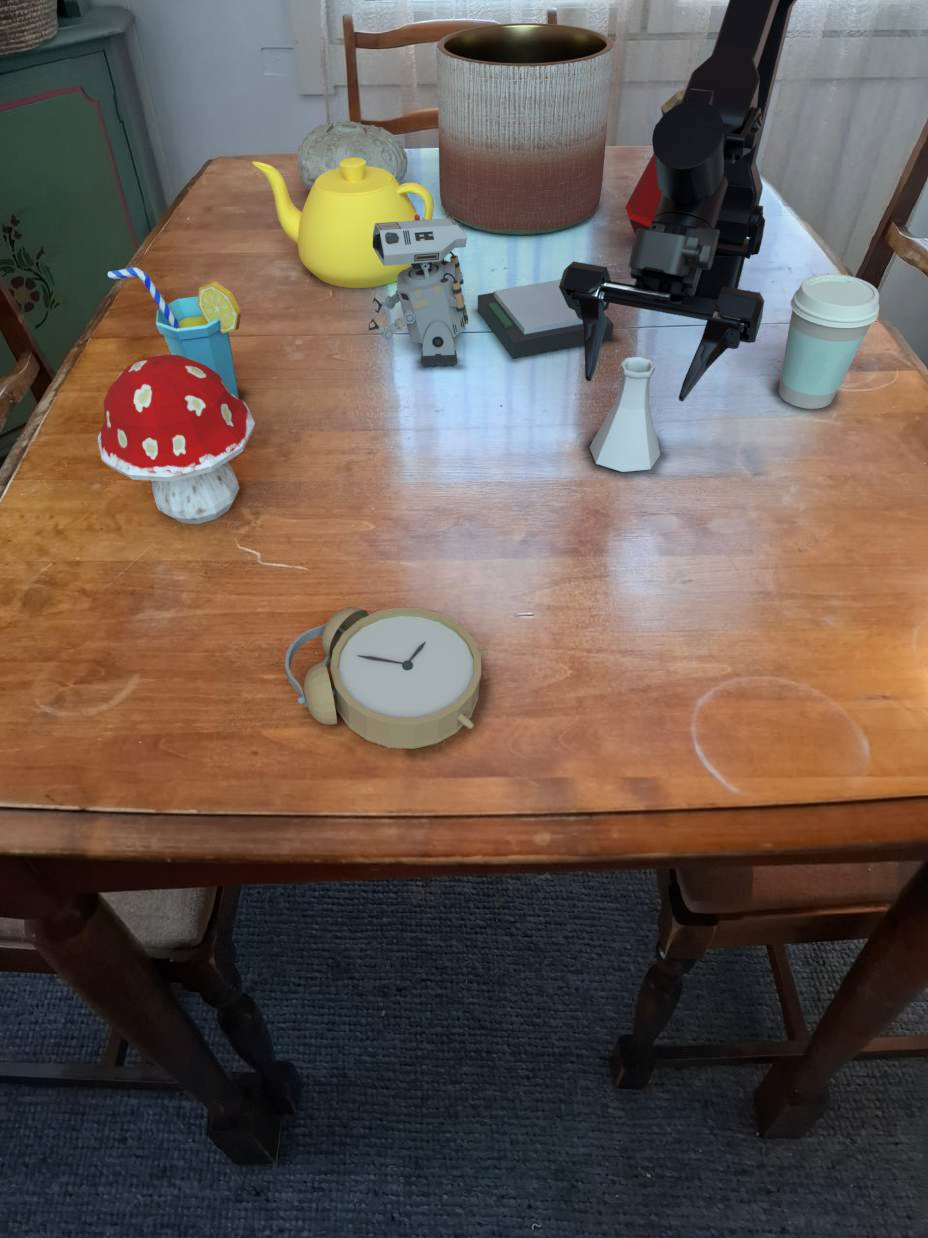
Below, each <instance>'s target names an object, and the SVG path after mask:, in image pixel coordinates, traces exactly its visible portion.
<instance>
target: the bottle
mask: <svg viewBox="0 0 928 1238" xmlns="http://www.w3.org/2000/svg"><path fill="white" fill-rule="evenodd" d="M685 90H686V88H684V89H681V90H679V91H677V92H676V93H675V94H673V95H672V96H671V97H670V98H669V99H668V100H666V102H665V103H663V104H662V105H661V106H660V109H661V114H662V116H663V115H664V114H665V113H666V112H667V111H668V110H670V109H671V108H673V106H674V105H675V103H676V102H677V101H678V100H682V98H683V95H684V93H685ZM661 194H662V191H660V190H659V187H658V181H657V173H656V166H655V159H654V152H653V153H652V155H651V157H650V159H649V160H648V163H647V165H646V167H645V168H644V170H643V172H642V174H641V176H640V178H639V180H638V182H637V184H636V185H635V187H634V189H633V191H632V193H631V195H630V196H629V198H628V200H627V202H626V204H625V206H624V208H625V211H626V214H627V217H628V220H629V222H630V225H631V228H632V230H633V233H634V237H635V236H636V231H637V229H645V230H649V227H650V225H651V223H652V221H653V220H654V217H655V214H656V210H657V207H658V204H659V200H660V197H661Z"/></svg>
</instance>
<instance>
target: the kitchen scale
mask: <svg viewBox="0 0 928 1238" xmlns="http://www.w3.org/2000/svg"><path fill="white" fill-rule="evenodd" d="M560 282H561V279H555V280H550V281H549V280H548V281H543V282H539V283H533V284H526V285H520V286H515V287H508V288H503V289H496V290H494V291H493V292H488V293H483V294H477V313H478V314H479V315H480V317H481V318H482V319H483V321H484V322H485V324H487V326H488V327H489V329H490V330H491V331H492V333H493V334H494V336H495V337H496V338H497V339H498V340H499V342H500V343H501V345H502V346H503V347H504V349H505V350H506V351H507V352H508V354H509V355H510V356H511V358H512V359H513V360H515V359H520V358H526V357H532V356H535V355H542V354H547V353H552V352H557V351H562V350H567V349H571V348H577V347H585V341H584V328H583V321H582V320H581V319H579V318H578V317H577V315H576V312H575V310H573V309H571V308H569V307H568V306H567V303H566V301H565V299H564V297H563V295H562V293H561V291H560V288H559V285H560ZM606 318H607V324H606V328H605V332H604V336H603V340H602V343H604V342H610V341H612V339H613V331H614V323H613V321H612V320H611V319H610V318H609V317H608V316H607V315H606Z"/></svg>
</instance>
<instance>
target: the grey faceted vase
mask: <svg viewBox="0 0 928 1238" xmlns="http://www.w3.org/2000/svg"><path fill="white" fill-rule="evenodd" d="M620 369H621V371H622V375H621V383H620V386H619V389H618V391H617V395H616V397H615V400H614V401H613V403H612V406H611V407H610V410H609V411H608V413H607V414H606V417H605V419H604V421H603V423H602V424H601V426H600V427H599V429H598V431H597V433H596V435H595V436H594V438H593V440H592V442H591V443H590V445H589V450H590V452H591V454H592V457H593V460H594V462H595V464H596V465H598V466H601V467H605V468H608V469H612V470H615V471H618V472H621V473H627V472H636V471H647V470H651V469H652V468H653V467H654V466H655V463H656V462H657V460H658V459H659V457H660V456H661V450H660V445H659V441H658V437H657V433H656V428H655V424H654V418H653V413H652V408H651V402H650V383H651V377H652V375H653V373H654V372H655V370H656V365H655V363H654V361H653V359H650V358H646V357H644V356H630V357H625V358H624V359H623V361H622V362H621V363H620Z"/></svg>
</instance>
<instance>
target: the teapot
mask: <svg viewBox="0 0 928 1238" xmlns="http://www.w3.org/2000/svg"><path fill="white" fill-rule="evenodd" d="M251 164H252V165H253V166H254V167H255V168H257V170H259V172H261V173H262V174H263V175H264V176H265V178H266V179H267V181H268V182H269V186H270V187H271V190H272V193H273V198H274V204H275V209H276V214H277V218H278V221H279V224H280V226H281V229H282V230H283V232H284V233H285V234H286V235H287V237H288V238H289V240H291V241H293V242H294V243H295V244H297V250H298V257H299V259H300V261H301V263H302V264H303V265H304V267H305V268H306V269H307V270H308V271H309V272H310V273H311V274H313V275H314V276H315V277H316V278H317V279H319V280H320V281H322V282H323V283H326V284H328V285H331V286H335V287H338V288H339V287H340V288H347V289H367V288H376V287H382V286H386V285H389V284H392V283H395V282H397V280H398V274H399V273H400V272H401V271H403V270H406V269H408V268H409V267H411V266H412V265H411V264H401V265H388V266H384V265H383V264H382V262H381V261H380V259H379V257H378V256H377V254H376V252H375V250H374V248H373V242H372V241H373V231H374V226H375V223H385V222H400V221H412V220H415V219H414V217H415V215H418V213H417V209H416V208H415V206H414V204H413V203H412V200H411V199H410V197H409V196H408V194H414V195H417V196H418V197H420V198H421V200H422V201H423V204H424V215H423V220H430V219H433V215H434V208H435V207H434V199H433V196H432V194H431V192H430V191H429V190H428V188H426V187H425V186H423V185H422V184H420V183H417V182H412V181H409V182H405V183H400V184H399V183H398V181H397V180H396V179H395V177H394V176H393V175H392V174H391V173H389V172H388V171H386V170H384V169H381V168H376V167H369V166H366V160H364V159H361V158H355V157H353V158H346V159H343V160H342V161H340V162H339V165H340V168H337V169H333V170H330V171H327V172H325V173H323V174H322V175H320V176H319V177H318V178H317V179H316V181H315V183H314V185H313V186H312V188H311V190H310V191H309V193H308V196H307V198H306V200H305V203H304V206H303V207H302V211H301V210H299V209H298V208H297V207H296V206H295V204H294V202H292V199H291V196H290V194H289V190H288V188H287V183H286V181H285V179H284V176H283V174H282V173H281V172H280V171H279V170H278V169H277V168H275V167H274V166H272V165H269V164H267V163H265V162H260V161H252V162H251Z"/></svg>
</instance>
